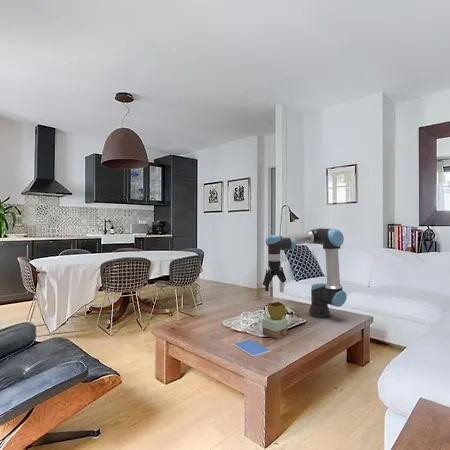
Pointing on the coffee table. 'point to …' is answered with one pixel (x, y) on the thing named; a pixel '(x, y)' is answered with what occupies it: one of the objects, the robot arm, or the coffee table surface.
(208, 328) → the coffee table surface
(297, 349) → the coffee table surface
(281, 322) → the top block
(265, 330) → the bottom block
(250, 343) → the tablet computer
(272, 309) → the flower pot
